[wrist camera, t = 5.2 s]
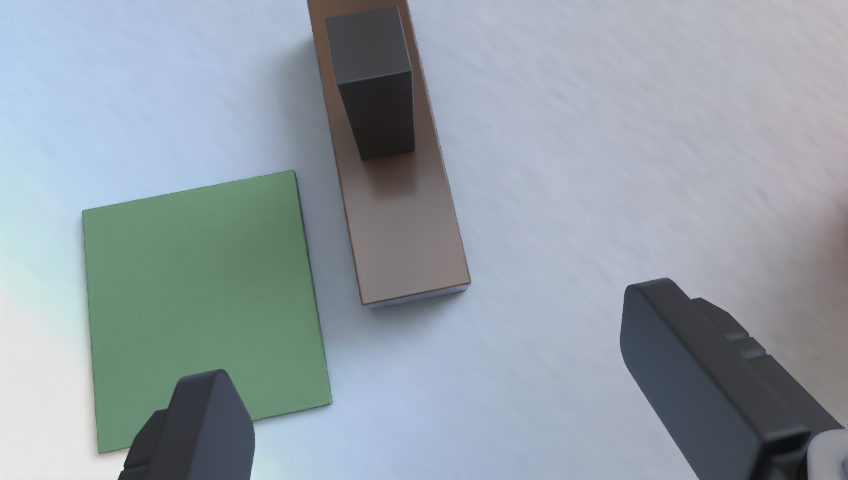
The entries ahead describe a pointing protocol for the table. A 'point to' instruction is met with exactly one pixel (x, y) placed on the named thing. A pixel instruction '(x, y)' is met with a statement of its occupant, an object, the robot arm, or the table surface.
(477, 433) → the table surface
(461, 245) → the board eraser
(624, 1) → the table surface
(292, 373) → the rubber mat
